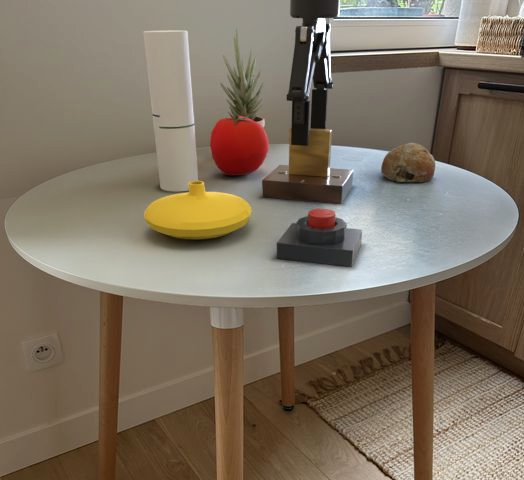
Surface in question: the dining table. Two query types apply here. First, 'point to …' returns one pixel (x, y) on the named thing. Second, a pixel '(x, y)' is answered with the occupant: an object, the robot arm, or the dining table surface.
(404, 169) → the bread roll
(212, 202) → the vase
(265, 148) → the tomato
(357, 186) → the dining table surface
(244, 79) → the potted plant
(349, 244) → the button block
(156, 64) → the cylindrical container
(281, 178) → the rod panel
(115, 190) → the dining table surface
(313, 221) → the red button
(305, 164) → the upright wooden block
